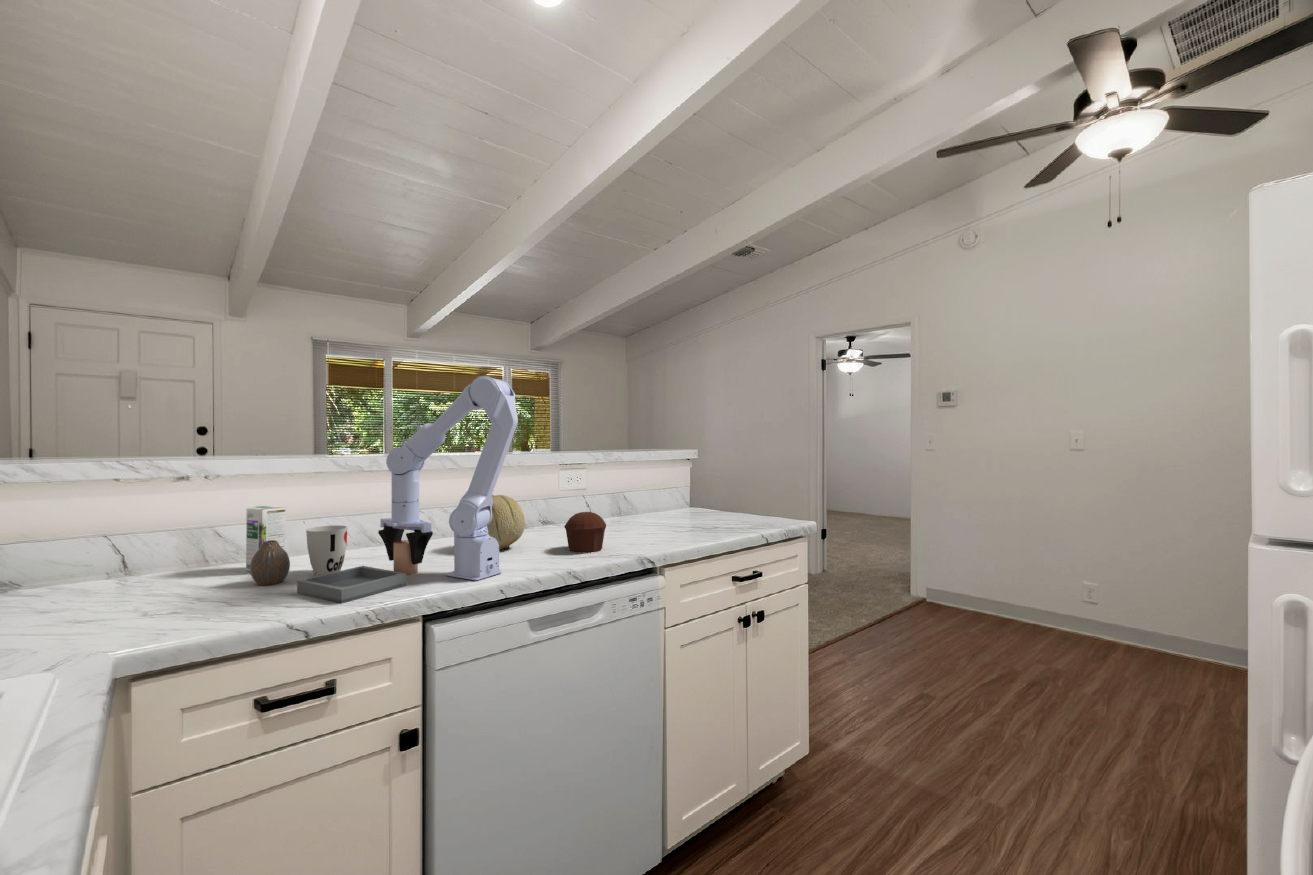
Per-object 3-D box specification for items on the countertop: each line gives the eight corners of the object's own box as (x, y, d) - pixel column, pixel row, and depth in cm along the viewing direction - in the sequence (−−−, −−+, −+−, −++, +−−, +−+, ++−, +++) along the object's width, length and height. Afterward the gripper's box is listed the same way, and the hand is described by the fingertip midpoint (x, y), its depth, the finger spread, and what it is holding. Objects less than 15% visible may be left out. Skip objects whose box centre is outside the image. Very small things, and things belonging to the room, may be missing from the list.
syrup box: (244, 571, 130) (244, 507, 130) (270, 565, 135) (270, 504, 135) (261, 573, 128) (261, 508, 127) (287, 567, 133) (286, 505, 133)
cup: (329, 577, 124) (329, 531, 124) (297, 575, 126) (297, 530, 125) (356, 569, 132) (355, 525, 132) (325, 567, 134) (325, 524, 133)
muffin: (577, 544, 161) (577, 509, 161) (613, 547, 158) (613, 510, 157) (556, 552, 150) (556, 514, 150) (594, 555, 146) (594, 516, 146)
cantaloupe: (517, 554, 148) (517, 496, 148) (461, 554, 148) (461, 496, 148) (530, 543, 163) (530, 490, 162) (479, 543, 163) (479, 490, 163)
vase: (297, 580, 122) (297, 539, 122) (263, 588, 115) (263, 545, 115) (277, 577, 125) (276, 537, 124) (242, 584, 118) (242, 542, 118)
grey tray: (406, 585, 118) (406, 573, 118) (341, 603, 106) (341, 589, 106) (362, 577, 124) (362, 565, 124) (297, 593, 112) (296, 580, 112)
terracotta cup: (422, 571, 129) (422, 540, 129) (403, 576, 125) (403, 544, 125) (407, 569, 132) (407, 538, 132) (388, 574, 127) (388, 542, 127)
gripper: (368, 501, 128) (368, 561, 128) (412, 505, 121) (412, 569, 121) (395, 498, 134) (395, 555, 134) (439, 501, 127) (439, 562, 128)
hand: (405, 561), depth 128 cm, fingers open, 7 cm apart
